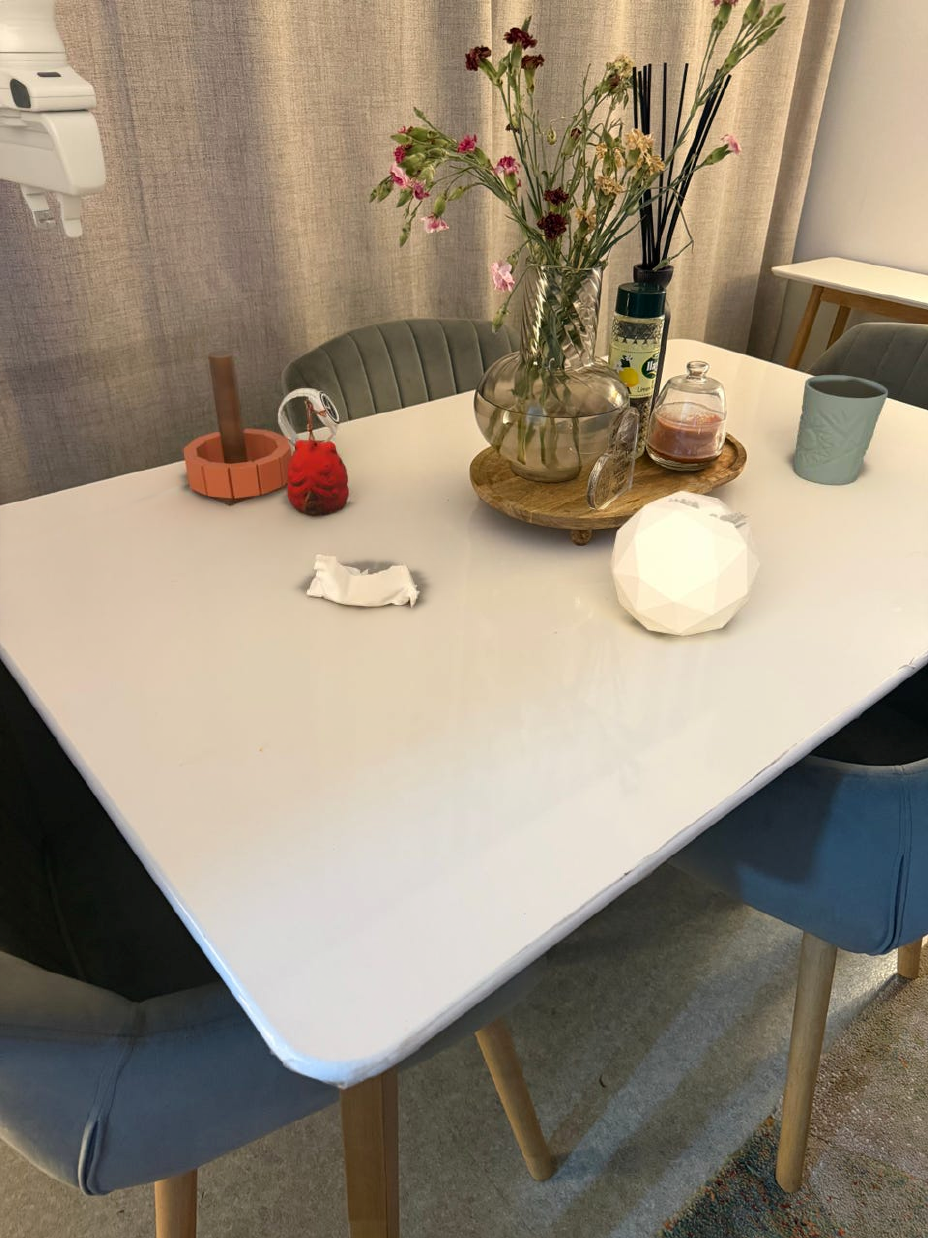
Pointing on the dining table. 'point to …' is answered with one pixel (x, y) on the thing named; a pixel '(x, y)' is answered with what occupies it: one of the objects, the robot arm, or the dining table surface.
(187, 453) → the hoop
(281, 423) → the watch
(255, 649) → the dining table surface
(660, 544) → the geodesic sphere
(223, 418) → the peg stand
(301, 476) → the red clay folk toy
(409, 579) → the fabric
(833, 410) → the green embossed cup
